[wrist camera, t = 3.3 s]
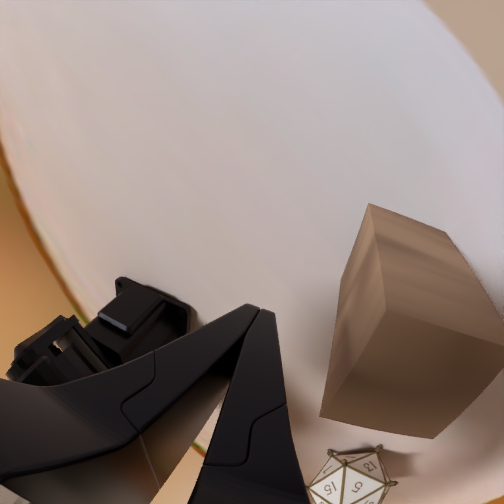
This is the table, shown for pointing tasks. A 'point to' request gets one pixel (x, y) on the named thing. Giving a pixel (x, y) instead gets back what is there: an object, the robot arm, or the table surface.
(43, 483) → the robot arm
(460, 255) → the brown rectangular block
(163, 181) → the table surface
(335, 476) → the game die
